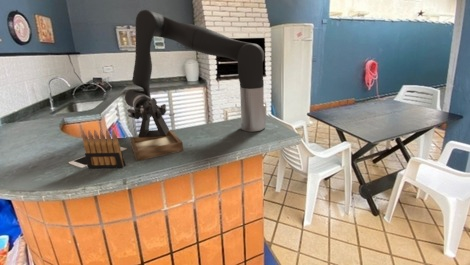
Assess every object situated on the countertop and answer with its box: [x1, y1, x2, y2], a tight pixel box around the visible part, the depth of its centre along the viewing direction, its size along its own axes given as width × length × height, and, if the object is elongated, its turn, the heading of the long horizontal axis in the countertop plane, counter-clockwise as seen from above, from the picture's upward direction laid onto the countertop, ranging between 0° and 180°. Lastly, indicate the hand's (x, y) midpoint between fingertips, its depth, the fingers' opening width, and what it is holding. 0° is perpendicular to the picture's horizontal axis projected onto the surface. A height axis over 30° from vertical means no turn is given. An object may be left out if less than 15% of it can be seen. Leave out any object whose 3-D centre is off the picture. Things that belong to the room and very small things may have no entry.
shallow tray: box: [129, 129, 184, 162], centre depth 87 cm, size 15×15×3 cm
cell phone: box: [68, 146, 128, 169], centre depth 83 cm, size 8×16×1 cm, turn 150°
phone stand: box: [138, 97, 170, 138], centre depth 84 cm, size 9×6×12 cm, turn 93°
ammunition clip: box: [81, 129, 126, 170], centre depth 72 cm, size 11×2×12 cm, turn 87°
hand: (152, 116), depth 81 cm, fingers closed on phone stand, 3 cm apart
